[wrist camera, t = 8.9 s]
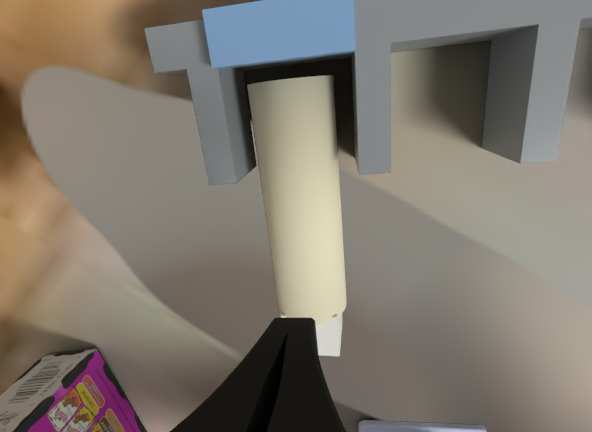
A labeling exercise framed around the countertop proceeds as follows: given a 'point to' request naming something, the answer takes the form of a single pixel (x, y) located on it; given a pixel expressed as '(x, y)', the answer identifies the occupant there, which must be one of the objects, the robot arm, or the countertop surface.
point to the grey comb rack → (375, 67)
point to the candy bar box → (67, 397)
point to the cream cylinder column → (302, 199)
